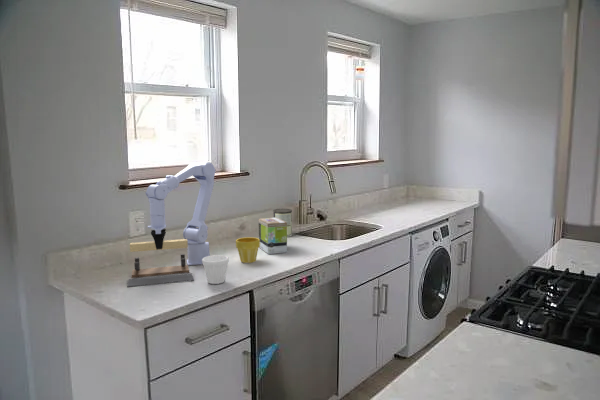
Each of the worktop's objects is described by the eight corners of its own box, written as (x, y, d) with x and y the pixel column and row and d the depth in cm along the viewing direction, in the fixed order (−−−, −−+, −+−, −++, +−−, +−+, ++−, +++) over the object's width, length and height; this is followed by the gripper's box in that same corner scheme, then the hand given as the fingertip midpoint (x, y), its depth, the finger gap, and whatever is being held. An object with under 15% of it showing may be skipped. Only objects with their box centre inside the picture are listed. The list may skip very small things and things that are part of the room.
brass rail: (187, 246, 190) (187, 238, 190) (187, 247, 187) (187, 240, 187) (130, 250, 184) (130, 242, 184) (130, 251, 181) (129, 244, 181)
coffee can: (269, 235, 256) (269, 209, 254) (284, 232, 263) (284, 207, 261) (281, 238, 248) (280, 212, 246) (296, 235, 255) (295, 210, 253)
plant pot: (246, 256, 211) (245, 236, 209) (264, 259, 206) (264, 238, 204) (231, 262, 202) (230, 240, 201) (250, 265, 197) (250, 243, 195)
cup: (197, 282, 175) (196, 258, 174) (219, 276, 182) (218, 253, 181) (212, 288, 168) (211, 263, 167) (234, 282, 175) (234, 258, 174)
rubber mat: (192, 274, 186) (192, 273, 186) (193, 280, 177) (193, 279, 177) (128, 279, 179) (128, 278, 179) (127, 287, 170) (127, 286, 170)
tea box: (287, 252, 218) (287, 221, 216) (267, 254, 215) (267, 223, 212) (277, 245, 232) (277, 216, 230) (258, 247, 228) (257, 218, 226)
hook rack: (187, 267, 195) (187, 253, 195) (189, 272, 188) (188, 258, 187) (132, 272, 189) (131, 257, 188) (131, 277, 181) (130, 263, 181)
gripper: (147, 212, 189) (149, 244, 191) (146, 218, 176) (148, 253, 178) (165, 211, 191) (167, 243, 193) (165, 217, 178) (167, 251, 180)
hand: (159, 248), depth 186 cm, fingers closed on brass rail, 3 cm apart
